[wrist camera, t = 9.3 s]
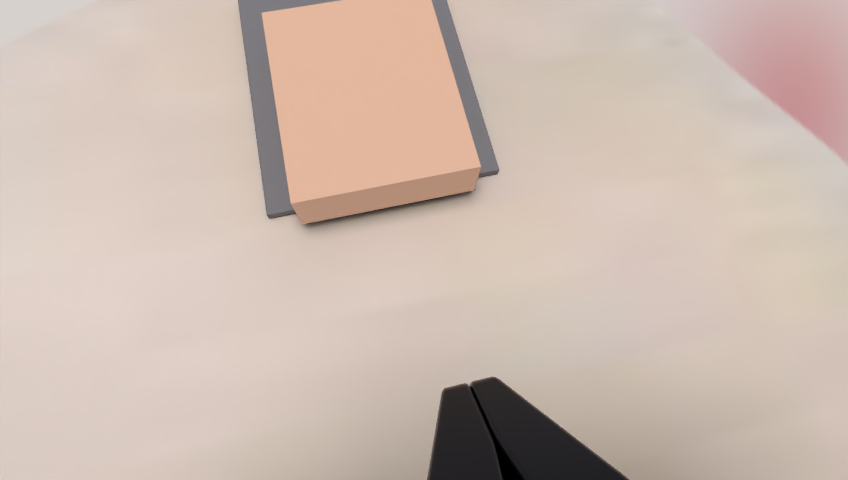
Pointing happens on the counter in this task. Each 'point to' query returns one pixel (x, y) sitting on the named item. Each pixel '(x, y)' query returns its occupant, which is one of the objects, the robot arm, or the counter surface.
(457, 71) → the mat
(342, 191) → the tile
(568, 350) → the counter surface
